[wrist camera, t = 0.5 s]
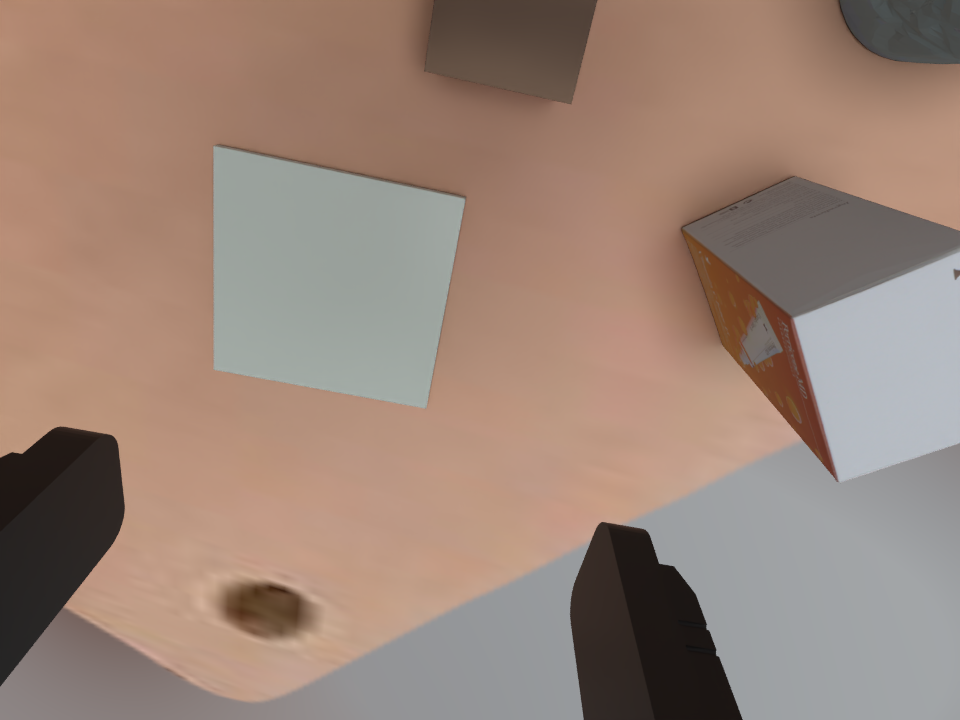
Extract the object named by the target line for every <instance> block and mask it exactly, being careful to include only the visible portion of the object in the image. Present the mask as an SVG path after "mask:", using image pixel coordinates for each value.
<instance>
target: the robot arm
mask: <svg viewBox="0 0 960 720" xmlns="http://www.w3.org/2000/svg"><path fill="white" fill-rule="evenodd" d="M124 510H125V505H124V495H123V486H122V477H121V468H120V459H119V449H118V443H117V441H116V439H115V438H114V437H113V436H112V435H108V434H103V433H97V432H91V431H86V430H80V429H74V428H68V427H57V428H54V429H52V430H51V431H49V432H48V433H47V434H46V435H44V436H43V437H42V438H41V439H40V440H38V441H37V442H36V443H35V444H34V445H32V446H31V447H30V448H29V449H28V450H26V451H25V452H24V453H23V454H19V453H13V452H12V453H10V454H7V455H5V456H3V457H1V458H0V686H1V685H2V684H3V682H4V681H5V680H6V679H7V677H8V676H9V675H10V673H11V672H12V671H13V670H14V668H15V667H16V666H17V665H18V663H19V662H20V661H21V660H22V658H23V657H24V656H25V654H26V653H27V652H28V651H29V649H30V648H31V647H32V646H33V644H34V643H35V642H36V640H37V639H38V638H39V637H40V635H41V634H42V633H43V632H44V630H45V629H46V628H47V627H48V625H49V624H50V622H52V620H53V619H54V618H55V616H56V615H57V614H58V613H59V611H60V610H61V609H62V608H63V606H64V605H65V604H66V603H67V601H68V600H69V599H70V598H71V596H72V595H73V594H74V592H75V591H76V590H77V589H78V587H79V586H80V585H81V584H82V582H83V581H84V580H85V579H86V577H87V576H88V575H89V573H90V572H91V571H92V570H93V568H94V567H95V566H96V565H97V563H98V562H99V561H100V560H101V558H102V557H103V556H104V555H105V553H106V552H107V551H108V549H109V548H110V547H111V545H112V544H113V542H114V541H115V539H116V537H117V535H118V533H119V531H120V528H121V525H122V522H123V518H124ZM570 617H571V618H570V619H571V626H572V627H571V628H572V635H573V642H574V650H575V657H576V664H577V672H578V679H579V687H580V694H581V702H582V708H583V717H584V720H743V719H742V717H741V714H740V711H739V709H738V706H737V703H736V701H735V698H734V695H733V693H732V690H731V687H730V685H729V682H728V679H727V677H726V674H725V672H724V669H723V666H722V664H721V661H720V658H719V657H718V656H716V648H715V645H714V642H713V640H712V637H711V634H710V632H709V630H707V629H706V625H707V624H706V621H705V618H704V616H703V613H702V610H701V608H700V605H699V602H698V600H697V597H696V594H695V593H694V592H693V590H692V589H691V588H690V586H689V585H688V584H687V583H686V581H685V580H684V579H683V578H682V576H681V575H680V574H679V572H678V571H677V570H676V569H675V567H674V566H669V565H663V564H659V562H658V559H657V556H656V553H655V550H654V547H653V544H652V541H651V538H650V535H649V534H648V532H647V531H646V530H644V529H640V528H634V527H629V526H623V525H617V524H611V523H606V522H601V523H600V524H599V525H598V526H597V528H596V530H595V533H594V535H593V538H592V540H591V543H590V545H589V548H588V550H587V553H586V555H585V558H584V560H583V563H582V565H581V568H580V570H579V573H578V576H577V578H576V580H575V583H574V587H573V591H572V596H571V607H570Z"/></svg>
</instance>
